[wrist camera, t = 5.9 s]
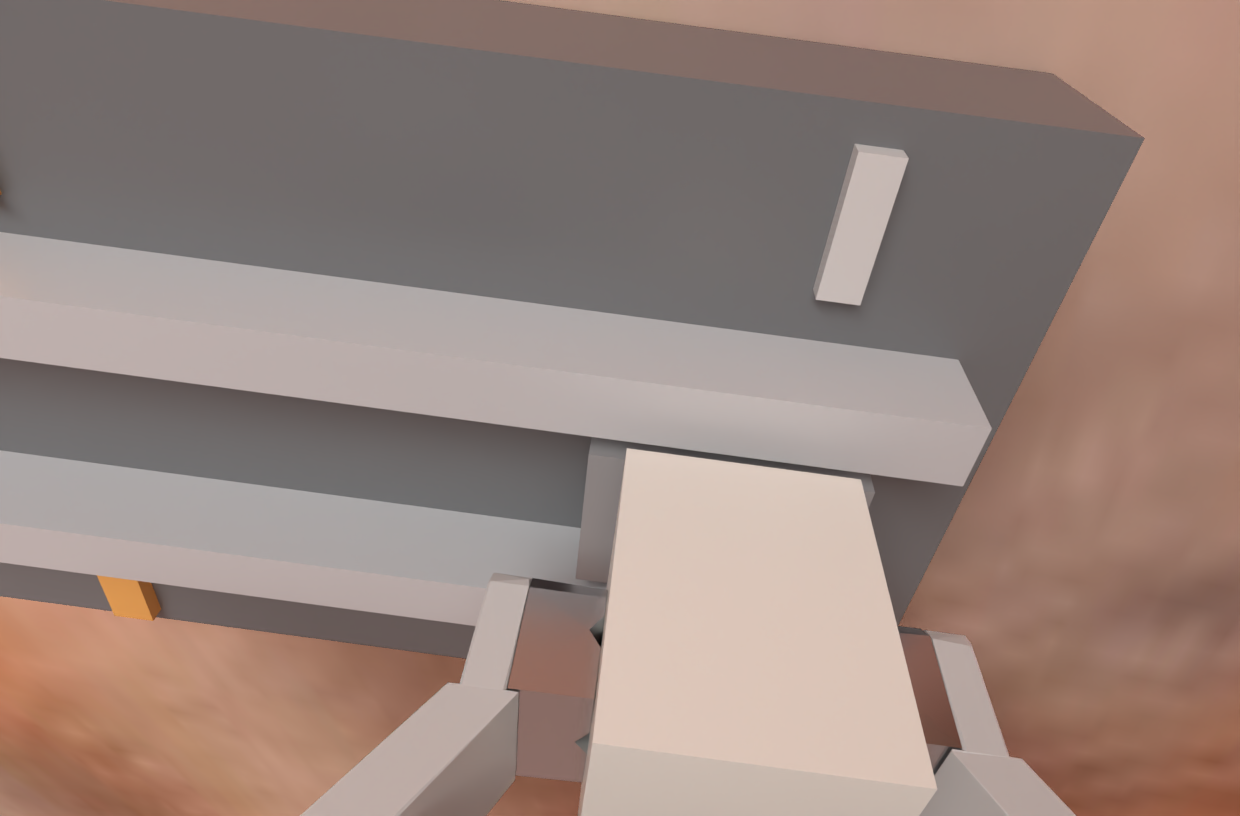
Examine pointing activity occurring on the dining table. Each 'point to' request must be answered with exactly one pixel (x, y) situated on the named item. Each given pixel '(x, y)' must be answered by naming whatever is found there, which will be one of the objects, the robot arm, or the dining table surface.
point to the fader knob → (743, 642)
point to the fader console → (489, 289)
